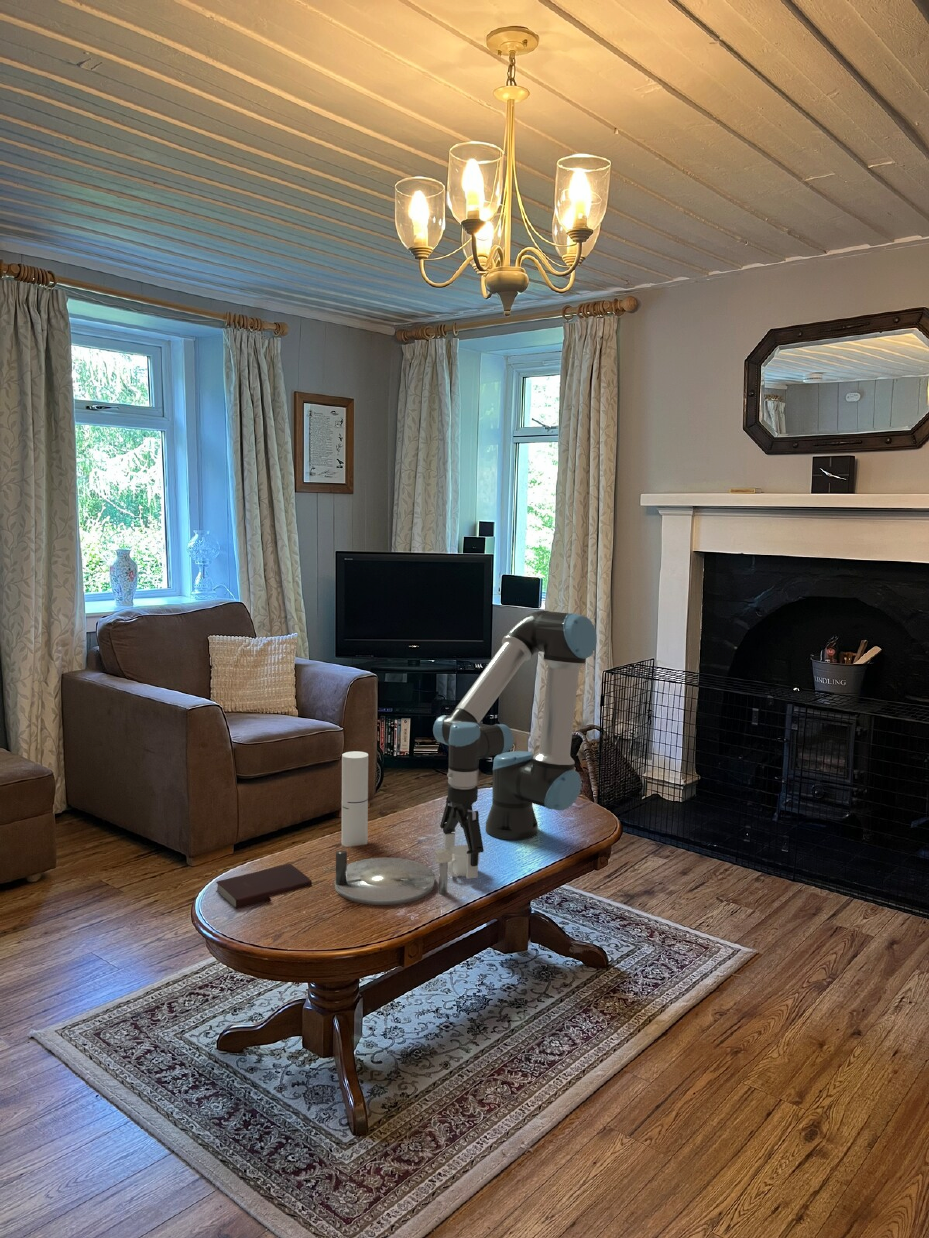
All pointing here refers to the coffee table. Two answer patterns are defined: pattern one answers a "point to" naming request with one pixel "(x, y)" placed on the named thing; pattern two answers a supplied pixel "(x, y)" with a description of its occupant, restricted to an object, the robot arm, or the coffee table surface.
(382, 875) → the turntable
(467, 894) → the coffee table surface
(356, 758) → the cylindrical container
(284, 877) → the book
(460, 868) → the cup
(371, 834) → the coffee table surface
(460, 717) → the robot arm
